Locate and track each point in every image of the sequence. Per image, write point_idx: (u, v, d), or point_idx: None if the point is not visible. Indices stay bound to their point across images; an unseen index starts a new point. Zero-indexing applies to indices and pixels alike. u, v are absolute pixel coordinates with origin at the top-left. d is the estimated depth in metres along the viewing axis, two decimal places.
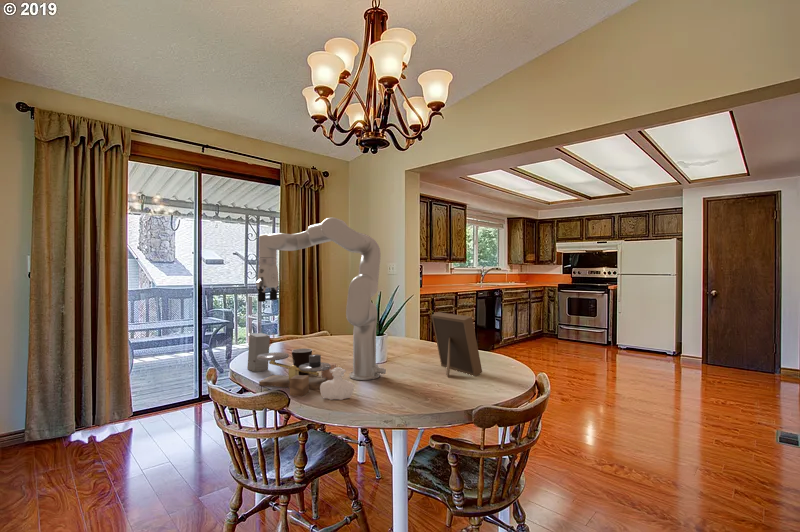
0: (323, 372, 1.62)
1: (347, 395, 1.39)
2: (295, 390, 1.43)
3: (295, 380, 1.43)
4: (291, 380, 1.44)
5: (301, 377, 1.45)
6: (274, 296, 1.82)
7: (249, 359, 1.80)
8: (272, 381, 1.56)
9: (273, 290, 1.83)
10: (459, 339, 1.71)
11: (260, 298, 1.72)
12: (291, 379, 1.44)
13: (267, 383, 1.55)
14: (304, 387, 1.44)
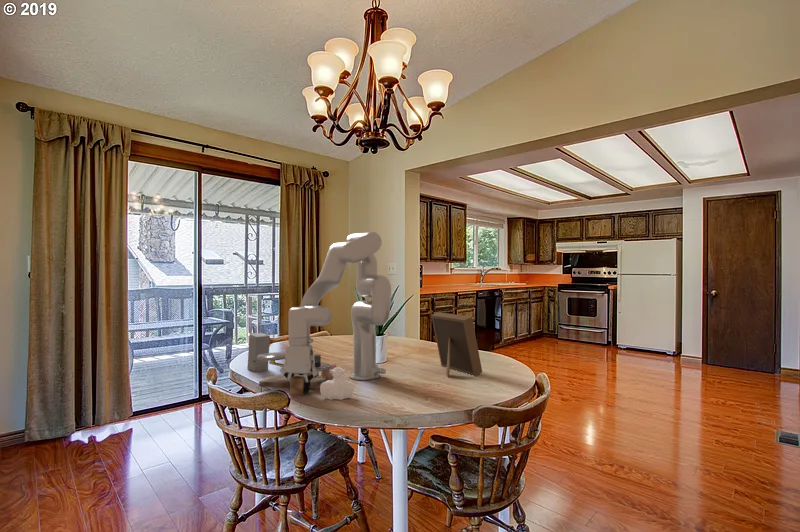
0: (323, 372, 1.62)
1: (347, 395, 1.39)
2: (295, 390, 1.43)
3: (295, 380, 1.43)
4: (291, 380, 1.44)
5: (301, 377, 1.45)
6: None
7: (249, 359, 1.80)
8: (272, 381, 1.56)
9: None
10: (459, 339, 1.71)
11: (309, 388, 1.45)
12: (291, 379, 1.44)
13: (267, 383, 1.55)
14: None
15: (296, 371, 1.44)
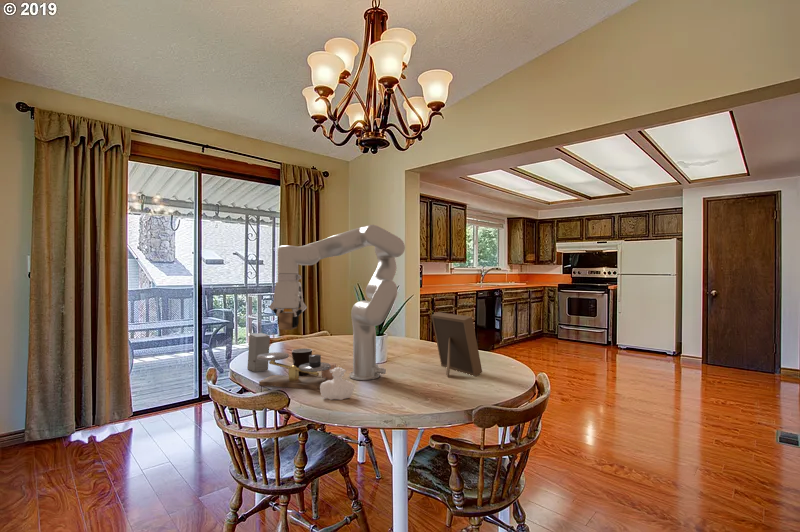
0: (323, 372, 1.62)
1: (347, 395, 1.39)
2: (284, 324, 1.49)
3: (284, 314, 1.49)
4: (280, 315, 1.49)
5: (290, 312, 1.51)
6: None
7: (249, 359, 1.80)
8: (272, 381, 1.56)
9: None
10: (459, 339, 1.71)
11: (297, 323, 1.51)
12: (280, 314, 1.49)
13: (267, 383, 1.55)
14: (292, 322, 1.50)
15: (285, 306, 1.49)
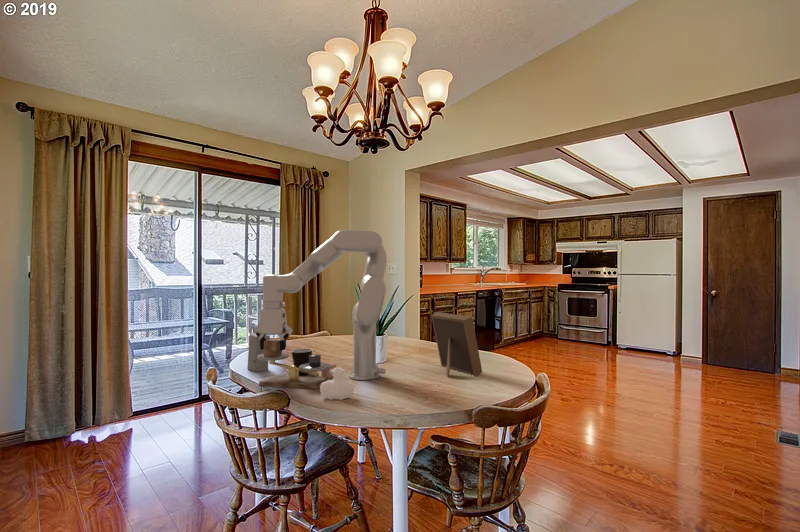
0: (323, 372, 1.62)
1: (347, 395, 1.39)
2: (269, 352, 1.58)
3: (269, 343, 1.58)
4: (265, 343, 1.58)
5: (274, 340, 1.60)
6: None
7: (249, 359, 1.80)
8: (272, 381, 1.56)
9: (263, 338, 1.61)
10: (459, 339, 1.71)
11: (285, 346, 1.59)
12: (265, 342, 1.58)
13: (267, 383, 1.55)
14: (277, 349, 1.58)
15: (270, 332, 1.58)
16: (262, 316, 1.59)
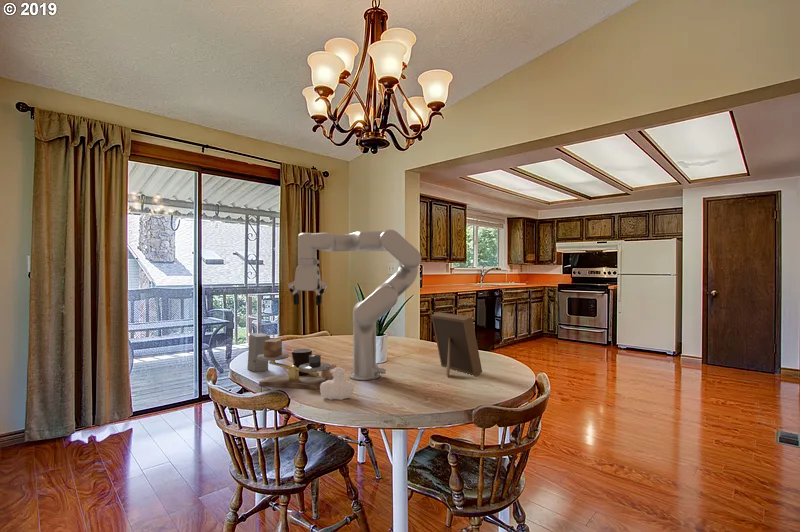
0: (323, 372, 1.62)
1: (347, 395, 1.39)
2: (269, 352, 1.58)
3: (269, 343, 1.58)
4: (265, 343, 1.58)
5: (274, 340, 1.60)
6: (298, 300, 1.67)
7: (249, 359, 1.80)
8: (272, 381, 1.56)
9: (297, 294, 1.67)
10: (459, 339, 1.71)
11: (320, 301, 1.64)
12: (265, 342, 1.58)
13: (267, 383, 1.55)
14: (277, 349, 1.58)
15: (305, 288, 1.64)
16: (297, 273, 1.64)
